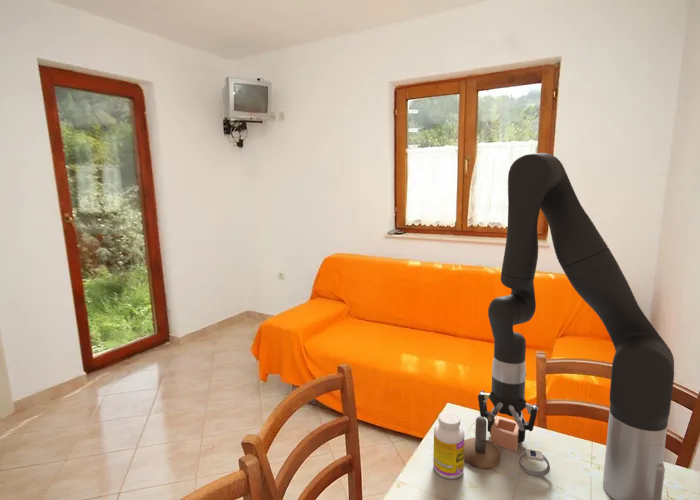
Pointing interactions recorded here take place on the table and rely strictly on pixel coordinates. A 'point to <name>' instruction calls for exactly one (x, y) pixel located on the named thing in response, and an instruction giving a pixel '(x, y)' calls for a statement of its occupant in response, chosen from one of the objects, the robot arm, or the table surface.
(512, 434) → the pink hollow square block
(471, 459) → the post stand
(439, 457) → the supplement bottle
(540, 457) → the wristwatch
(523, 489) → the table surface
